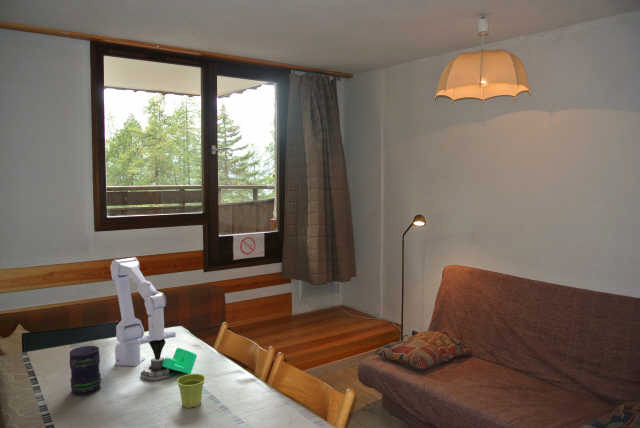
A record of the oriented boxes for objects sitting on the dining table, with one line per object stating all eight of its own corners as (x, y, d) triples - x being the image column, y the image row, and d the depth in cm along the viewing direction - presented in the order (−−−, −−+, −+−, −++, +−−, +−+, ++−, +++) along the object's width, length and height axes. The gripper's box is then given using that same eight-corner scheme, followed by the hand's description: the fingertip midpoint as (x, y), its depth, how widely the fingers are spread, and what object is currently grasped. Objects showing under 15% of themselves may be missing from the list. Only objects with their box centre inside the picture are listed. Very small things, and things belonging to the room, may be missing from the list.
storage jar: (70, 398, 167) (68, 357, 166) (71, 388, 176) (69, 348, 175) (101, 392, 172) (100, 352, 170) (100, 382, 180) (98, 344, 179)
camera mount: (199, 354, 189) (179, 350, 182) (192, 374, 187) (172, 370, 180) (181, 348, 197) (161, 343, 189) (175, 367, 195) (154, 362, 187)
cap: (149, 374, 185) (148, 361, 184) (154, 369, 190) (154, 356, 189) (161, 374, 184) (160, 361, 184) (166, 369, 189) (166, 356, 189)
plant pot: (211, 399, 165) (210, 375, 164) (195, 412, 156) (194, 386, 155) (188, 396, 168) (187, 372, 167) (171, 408, 159) (170, 383, 158)
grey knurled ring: (134, 380, 181) (133, 373, 181) (150, 367, 194) (149, 360, 194) (166, 381, 180) (166, 374, 180) (180, 368, 193) (180, 361, 193)
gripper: (140, 330, 178) (142, 366, 179) (178, 323, 187) (179, 356, 188) (134, 326, 184) (136, 360, 185) (171, 319, 193) (172, 352, 194)
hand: (157, 358), depth 187 cm, fingers closed
